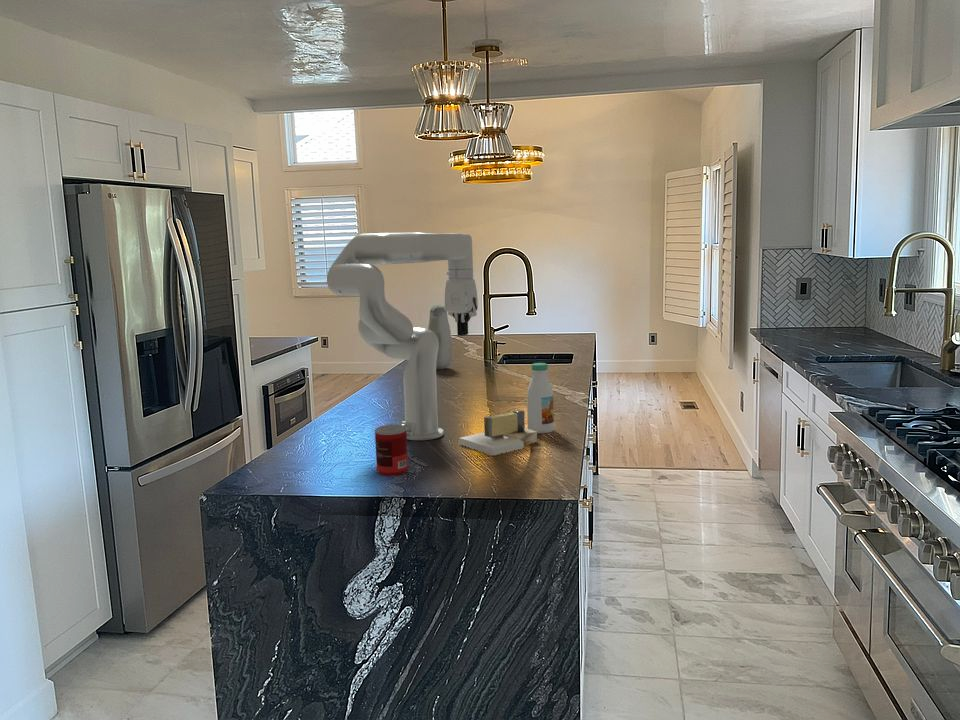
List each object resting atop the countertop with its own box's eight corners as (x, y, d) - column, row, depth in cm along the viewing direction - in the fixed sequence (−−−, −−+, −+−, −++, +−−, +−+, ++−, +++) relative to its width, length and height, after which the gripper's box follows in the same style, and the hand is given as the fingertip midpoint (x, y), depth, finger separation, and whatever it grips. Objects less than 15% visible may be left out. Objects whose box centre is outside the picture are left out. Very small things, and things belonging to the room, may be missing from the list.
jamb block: (517, 446, 216) (517, 436, 216) (501, 441, 222) (501, 431, 221) (537, 442, 221) (536, 431, 220) (520, 437, 226) (520, 427, 226)
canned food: (408, 466, 201) (407, 423, 199) (407, 475, 193) (405, 431, 191) (378, 467, 201) (376, 425, 199) (375, 476, 193) (373, 432, 191)
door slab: (493, 455, 208) (492, 426, 207) (459, 444, 220) (458, 416, 219) (523, 448, 214) (523, 419, 213) (489, 438, 226) (488, 410, 225)
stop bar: (520, 428, 223) (519, 409, 222) (527, 430, 220) (526, 411, 219) (483, 435, 216) (482, 416, 215) (490, 438, 213) (489, 418, 212)
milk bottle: (532, 435, 228) (531, 366, 225) (524, 429, 236) (522, 362, 233) (557, 432, 230) (556, 364, 227) (548, 426, 238) (547, 360, 235)
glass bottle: (426, 368, 350) (423, 304, 345) (448, 366, 353) (446, 303, 348) (431, 371, 340) (429, 306, 336) (454, 369, 343) (452, 305, 339)
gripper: (434, 275, 243) (436, 335, 246) (471, 276, 233) (473, 338, 236) (450, 274, 248) (453, 332, 251) (487, 274, 239) (489, 335, 242)
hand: (462, 334), depth 244 cm, fingers closed
